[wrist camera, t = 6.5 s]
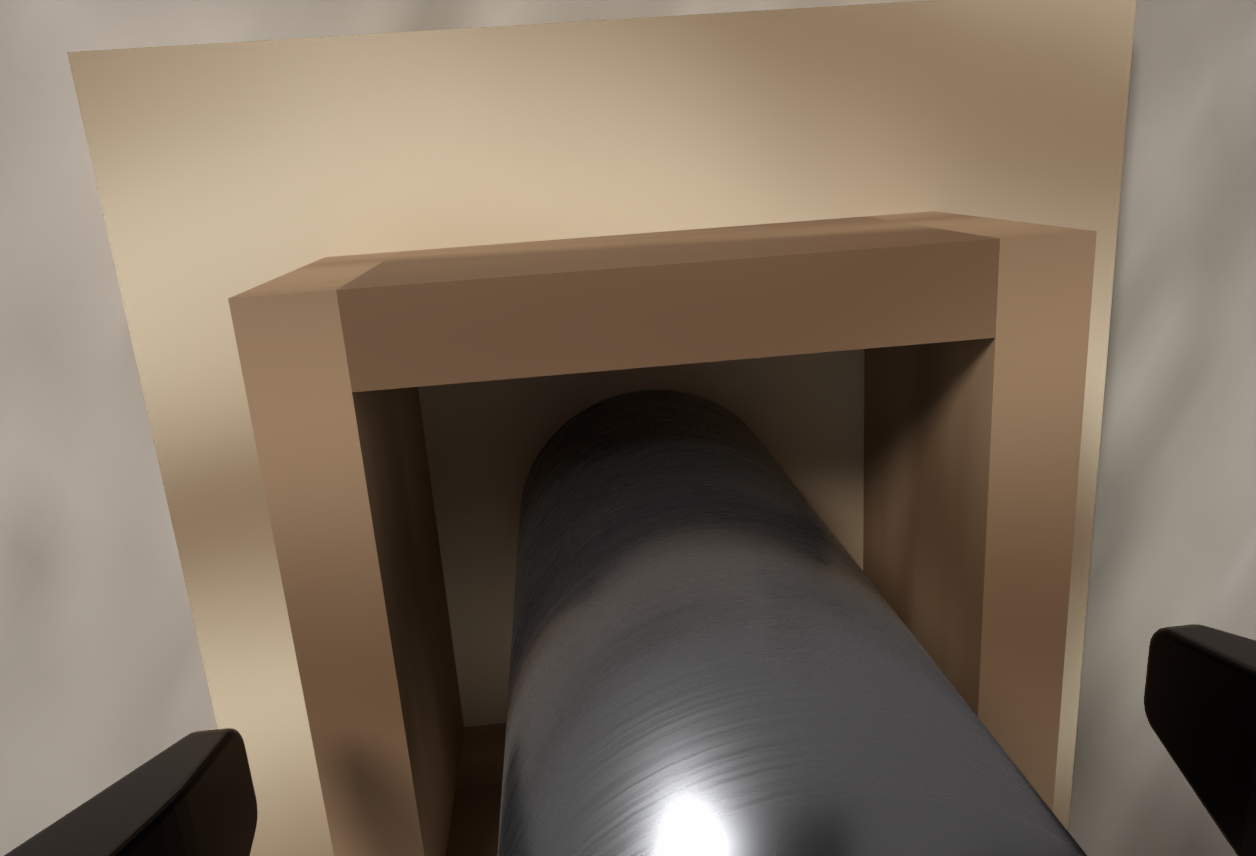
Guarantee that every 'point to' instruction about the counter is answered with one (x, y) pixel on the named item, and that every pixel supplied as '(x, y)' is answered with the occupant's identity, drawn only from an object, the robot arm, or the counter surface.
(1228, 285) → the counter surface
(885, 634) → the peg
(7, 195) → the counter surface
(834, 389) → the well
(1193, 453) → the counter surface
